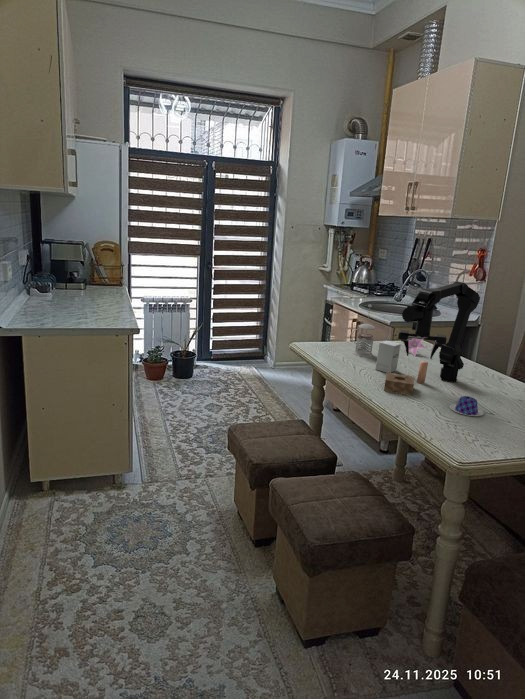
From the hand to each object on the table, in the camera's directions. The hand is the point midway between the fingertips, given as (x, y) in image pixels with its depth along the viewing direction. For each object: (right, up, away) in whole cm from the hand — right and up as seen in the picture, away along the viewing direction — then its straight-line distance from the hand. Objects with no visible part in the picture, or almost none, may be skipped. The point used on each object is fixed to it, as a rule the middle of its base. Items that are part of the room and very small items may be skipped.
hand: (419, 357), depth 221 cm
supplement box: (-9, -6, +20) cm, 23 cm away
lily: (+13, +1, +54) cm, 55 cm away
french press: (-16, +1, +44) cm, 47 cm away
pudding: (+11, -20, -22) cm, 32 cm away
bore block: (-10, -13, -5) cm, 17 cm away
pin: (+3, -11, +6) cm, 13 cm away
